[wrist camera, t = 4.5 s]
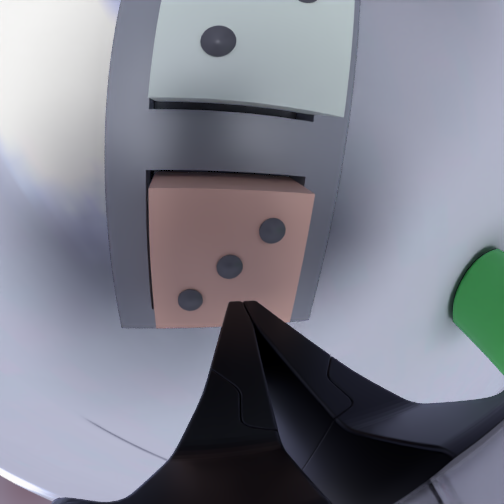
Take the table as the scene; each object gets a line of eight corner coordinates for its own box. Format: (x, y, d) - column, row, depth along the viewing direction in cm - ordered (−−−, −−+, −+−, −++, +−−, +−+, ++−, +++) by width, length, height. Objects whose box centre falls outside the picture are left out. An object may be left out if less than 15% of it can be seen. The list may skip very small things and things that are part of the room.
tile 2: (320, -8, 9) (357, -32, 6) (307, 114, 11) (345, 117, 8) (176, -31, 7) (177, -68, 4) (156, 101, 10) (147, 97, 7)
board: (342, -100, 6) (357, -113, 5) (296, 299, 18) (308, 320, 16) (176, -128, 4) (178, -146, 2) (126, 304, 15) (121, 327, 14)
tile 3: (288, 176, 14) (316, 195, 11) (271, 287, 16) (290, 323, 13) (155, 171, 12) (148, 188, 9) (158, 290, 15) (156, 329, 12)
